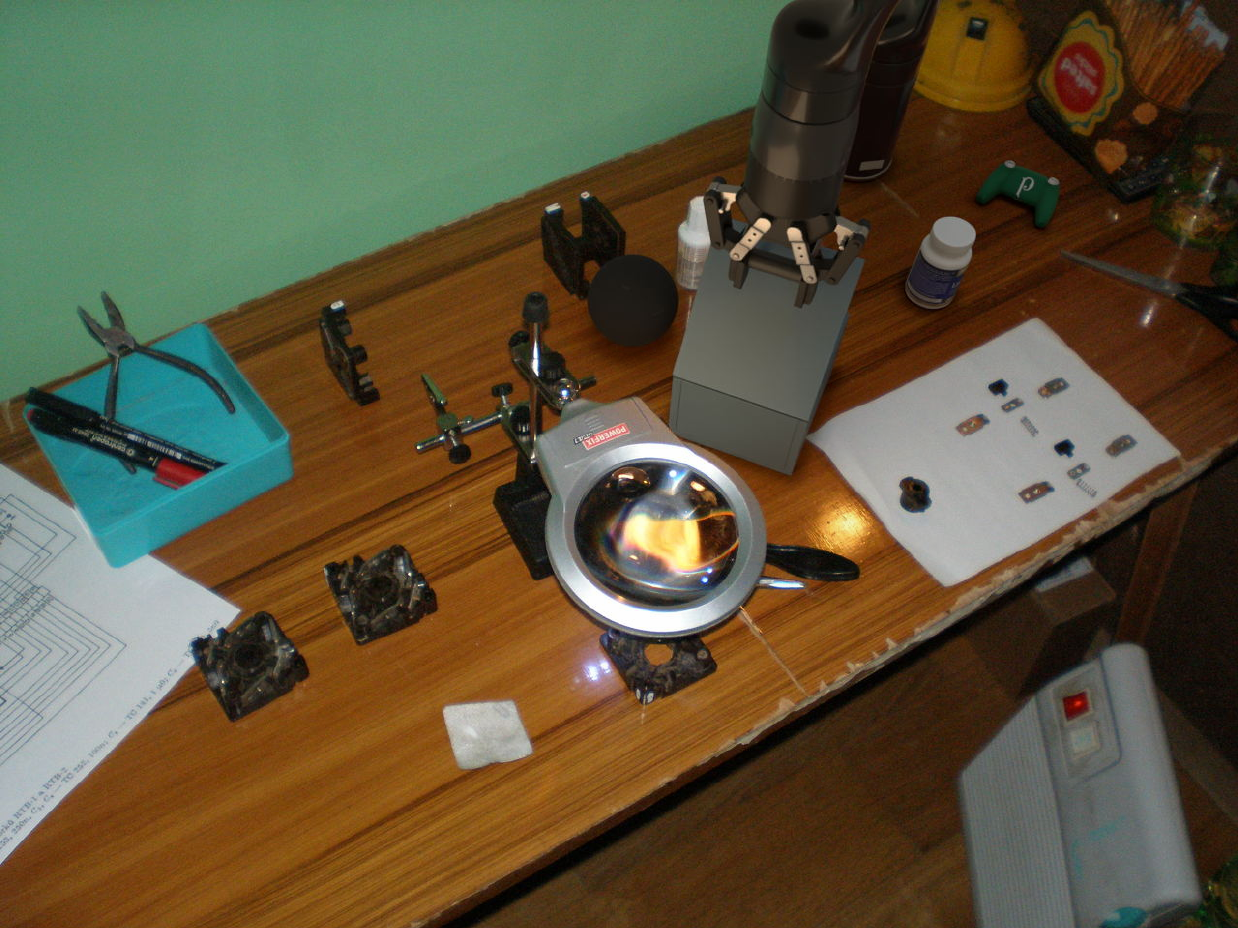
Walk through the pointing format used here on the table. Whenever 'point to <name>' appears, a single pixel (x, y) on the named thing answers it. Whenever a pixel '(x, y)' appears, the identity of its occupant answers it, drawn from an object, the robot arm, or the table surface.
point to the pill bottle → (941, 263)
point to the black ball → (633, 300)
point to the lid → (764, 329)
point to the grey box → (742, 422)
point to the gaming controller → (1022, 189)
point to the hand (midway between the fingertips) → (770, 290)
